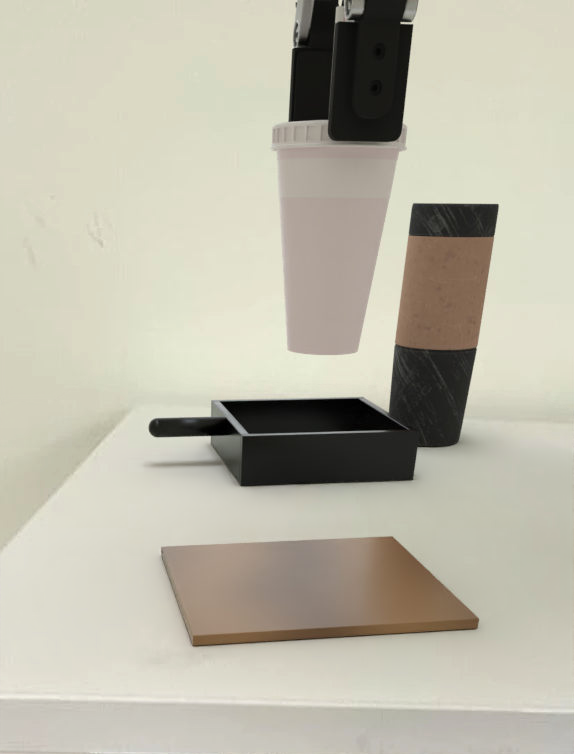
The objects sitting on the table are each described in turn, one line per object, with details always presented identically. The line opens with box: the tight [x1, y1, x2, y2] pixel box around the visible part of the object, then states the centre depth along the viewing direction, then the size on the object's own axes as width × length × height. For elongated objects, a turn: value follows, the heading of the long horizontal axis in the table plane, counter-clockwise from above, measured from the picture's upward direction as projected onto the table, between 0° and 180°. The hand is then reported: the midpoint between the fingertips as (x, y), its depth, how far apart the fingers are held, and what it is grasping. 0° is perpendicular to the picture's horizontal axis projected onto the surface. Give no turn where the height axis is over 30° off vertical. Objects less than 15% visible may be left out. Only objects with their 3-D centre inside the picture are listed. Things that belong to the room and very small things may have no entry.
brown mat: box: [160, 535, 480, 647], centre depth 53 cm, size 16×14×1 cm
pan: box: [147, 396, 420, 487], centre depth 77 cm, size 22×15×4 cm
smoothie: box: [269, 5, 408, 356], centre depth 42 cm, size 6×6×14 cm
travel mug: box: [388, 202, 500, 448], centre depth 81 cm, size 8×8×20 cm
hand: (339, 141), depth 41 cm, fingers closed on smoothie, 6 cm apart
